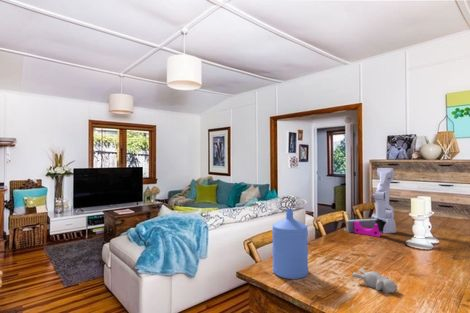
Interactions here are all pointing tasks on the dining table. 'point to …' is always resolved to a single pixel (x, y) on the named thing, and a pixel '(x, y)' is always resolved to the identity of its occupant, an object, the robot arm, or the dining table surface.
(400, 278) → the dining table surface
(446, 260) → the dining table surface
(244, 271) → the dining table surface
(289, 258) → the water jug
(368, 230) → the toy block
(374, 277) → the bunny figurine
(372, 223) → the backstop wall
